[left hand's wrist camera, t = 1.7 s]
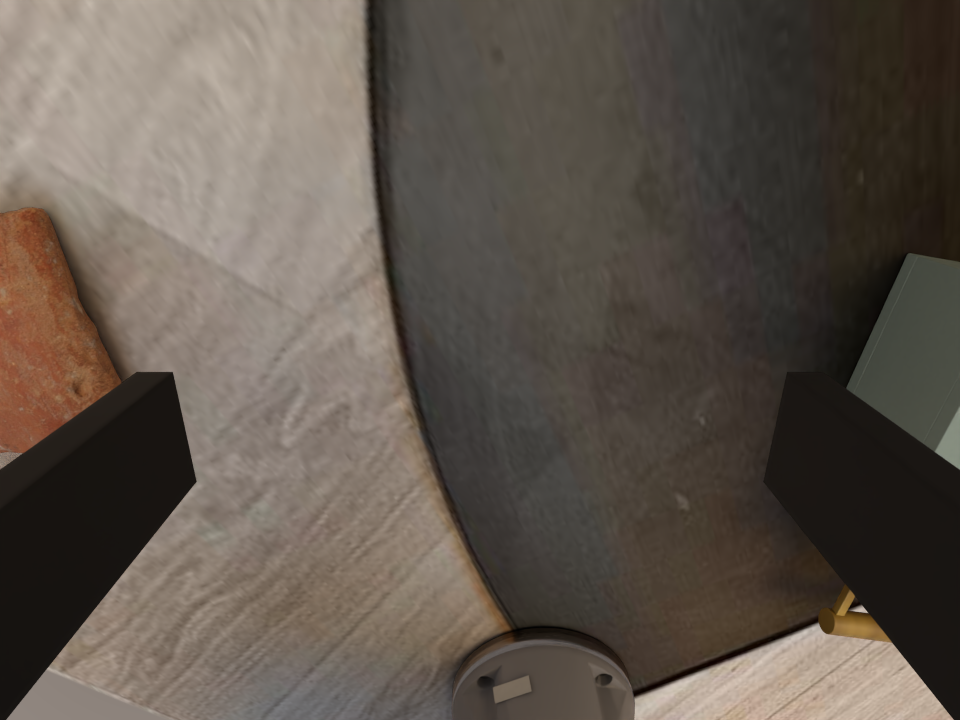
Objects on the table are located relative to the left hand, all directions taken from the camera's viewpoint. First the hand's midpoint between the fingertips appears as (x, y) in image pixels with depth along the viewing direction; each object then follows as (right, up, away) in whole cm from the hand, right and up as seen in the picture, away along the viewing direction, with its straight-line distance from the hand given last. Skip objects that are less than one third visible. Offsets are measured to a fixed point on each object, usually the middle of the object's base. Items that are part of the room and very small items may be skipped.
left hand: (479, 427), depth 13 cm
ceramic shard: (-31, +3, +25) cm, 40 cm away
